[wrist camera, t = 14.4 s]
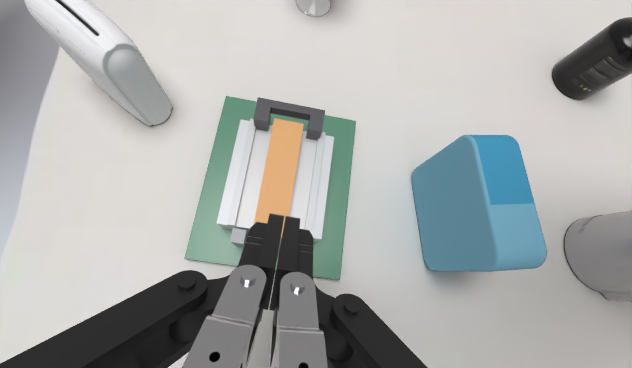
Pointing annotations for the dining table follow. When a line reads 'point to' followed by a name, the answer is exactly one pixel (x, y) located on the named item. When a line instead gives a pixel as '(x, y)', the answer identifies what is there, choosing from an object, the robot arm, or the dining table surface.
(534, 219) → the blue rounded block
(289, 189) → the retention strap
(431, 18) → the dining table surface
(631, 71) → the supplement bottle
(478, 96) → the dining table surface
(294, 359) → the robot arm
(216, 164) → the processor board
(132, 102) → the photo printer
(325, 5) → the wineglass
